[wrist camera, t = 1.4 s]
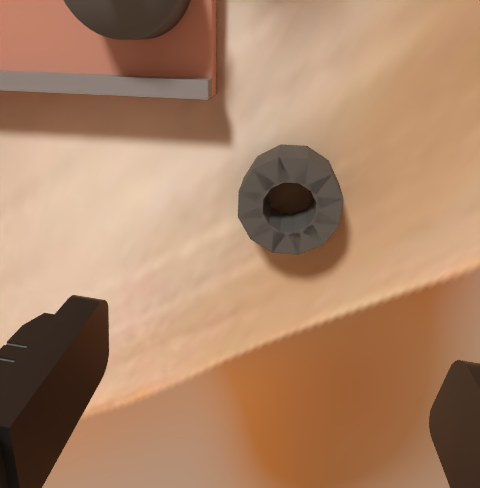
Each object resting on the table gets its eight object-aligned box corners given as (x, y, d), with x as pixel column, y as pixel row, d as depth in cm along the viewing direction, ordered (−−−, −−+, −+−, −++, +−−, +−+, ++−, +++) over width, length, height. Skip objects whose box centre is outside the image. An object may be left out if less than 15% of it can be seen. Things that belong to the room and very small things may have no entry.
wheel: (343, 148, 26) (348, 160, 23) (331, 237, 29) (334, 257, 26) (245, 142, 26) (239, 154, 24) (242, 230, 29) (237, 249, 27)
